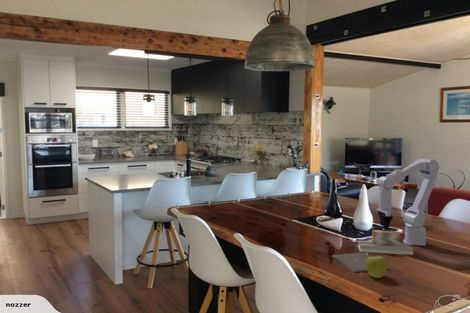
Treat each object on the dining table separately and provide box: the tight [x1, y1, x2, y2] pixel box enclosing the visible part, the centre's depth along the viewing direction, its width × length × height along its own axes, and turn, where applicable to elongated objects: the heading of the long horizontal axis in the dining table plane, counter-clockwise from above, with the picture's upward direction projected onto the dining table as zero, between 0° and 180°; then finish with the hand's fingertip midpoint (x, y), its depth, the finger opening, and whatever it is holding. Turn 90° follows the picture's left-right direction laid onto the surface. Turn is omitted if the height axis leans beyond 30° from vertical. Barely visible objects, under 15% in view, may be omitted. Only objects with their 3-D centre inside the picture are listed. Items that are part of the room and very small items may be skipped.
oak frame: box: [371, 229, 401, 246], centre depth 198 cm, size 12×3×8 cm, turn 79°
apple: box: [366, 255, 388, 279], centre depth 165 cm, size 8×8×10 cm
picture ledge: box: [357, 240, 414, 256], centre depth 199 cm, size 24×10×3 cm, turn 79°
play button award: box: [331, 252, 390, 273], centre depth 181 cm, size 16×2×20 cm
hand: (384, 227), depth 205 cm, fingers open, 7 cm apart
